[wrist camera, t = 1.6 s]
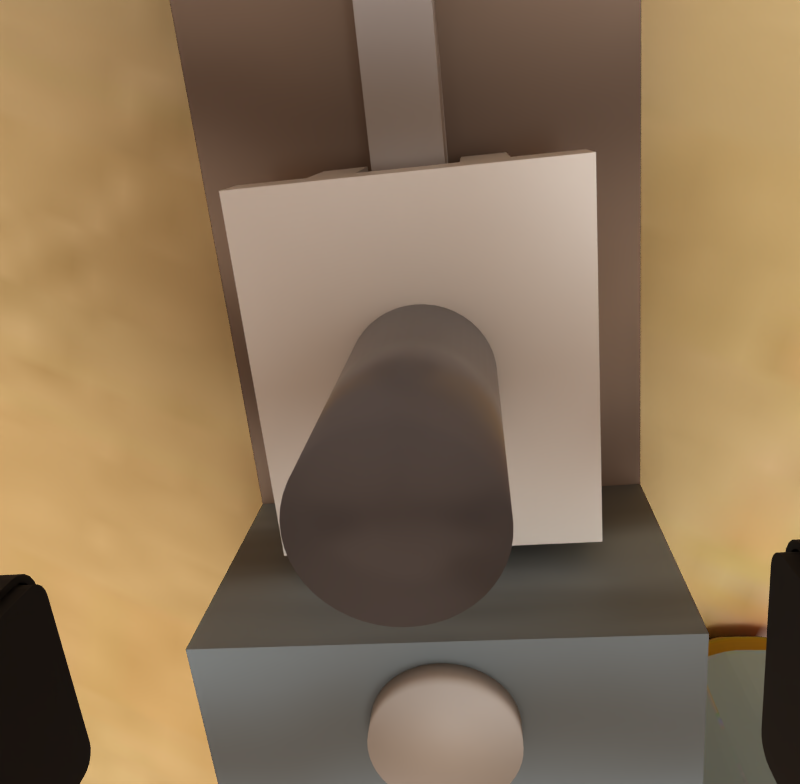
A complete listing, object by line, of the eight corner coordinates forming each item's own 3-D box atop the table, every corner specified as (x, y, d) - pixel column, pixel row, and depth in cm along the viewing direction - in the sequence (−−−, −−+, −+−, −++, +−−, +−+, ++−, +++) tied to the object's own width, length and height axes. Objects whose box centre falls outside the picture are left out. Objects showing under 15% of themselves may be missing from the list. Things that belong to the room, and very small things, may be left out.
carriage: (262, 177, 17) (58, 240, 9) (573, 145, 17) (685, 179, 8) (312, 489, 20) (193, 773, 11) (581, 474, 19) (672, 768, 11)
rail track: (69, -686, 14) (-399, -1628, 6) (623, -823, 13) (846, -2164, 5) (296, 595, 23) (213, 826, 16) (629, 582, 22) (711, 824, 15)
